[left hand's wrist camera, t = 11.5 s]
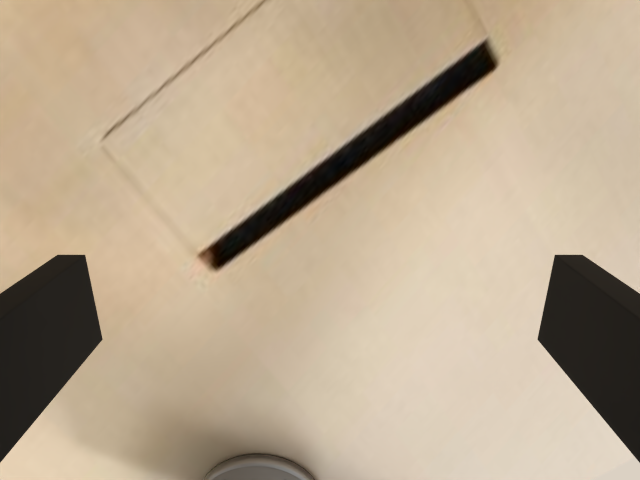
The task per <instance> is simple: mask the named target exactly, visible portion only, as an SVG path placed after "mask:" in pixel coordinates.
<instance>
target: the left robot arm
mask: <svg viewBox="0 0 640 480" xmlns="http://www.w3.org/2000/svg"><path fill="white" fill-rule="evenodd" d="M101 341H102V335H101V330H100V325H99V321H98V316H97V311H96V306H95V301H94V296H93V291H92V287H91V282H90V277H89V272H88V267H87V262H86V257H85V255H57V256H55V257H54V258H52V259H51V260H49V261H48V262H46V263H45V264H43V265H42V266H41V267H39V268H38V269H36V270H35V271H33V272H32V273H30V274H29V275H27V276H26V277H24V278H23V279H21V280H20V281H18V282H17V283H15V284H14V285H12V286H11V287H10V288H8V289H7V290H5V291H4V292H2V293H1V294H0V462H1V461H2V460H3V459H4V457H5V456H6V455H7V454H8V453H9V451H10V450H11V449H12V448H13V447H14V445H15V444H16V443H17V442H18V441H19V439H20V438H21V437H22V436H23V434H24V433H25V432H26V431H27V430H28V428H29V427H30V426H31V425H32V424H33V422H34V421H35V420H36V419H37V418H38V416H39V415H40V414H41V413H42V412H43V410H44V409H45V408H46V407H47V406H48V404H49V403H50V402H51V401H52V400H53V398H54V397H55V396H56V395H57V394H58V392H59V391H60V390H61V389H62V388H63V386H64V385H65V384H66V383H67V381H68V380H69V379H70V378H71V377H72V375H73V374H74V373H75V372H76V371H77V369H78V368H79V367H80V366H81V365H82V363H83V362H84V361H85V360H86V359H87V357H88V356H89V355H90V354H91V353H92V351H93V350H94V349H95V348H96V347H97V345H98V344H99V343H100V342H101ZM538 341H539V342H540V343H541V344H542V345H543V347H544V348H545V349H546V350H547V351H548V353H549V354H550V355H551V356H552V357H553V359H554V360H555V361H556V362H557V363H558V365H559V366H560V367H561V368H562V369H563V371H564V372H565V373H566V374H567V375H568V377H569V378H570V379H571V380H572V381H573V383H574V384H575V385H576V386H577V388H578V389H579V390H580V391H581V392H582V394H583V395H584V396H585V397H586V398H587V400H588V401H589V402H590V403H591V404H592V406H593V407H594V408H595V409H596V410H597V412H598V413H599V414H600V415H601V416H602V418H603V419H604V420H605V421H606V422H607V424H608V425H609V426H610V427H611V428H612V430H613V431H614V432H615V433H616V434H617V436H618V437H619V438H620V439H621V441H622V442H623V443H624V444H625V445H626V447H627V448H628V449H629V450H630V451H631V453H632V454H633V455H634V456H635V457H636V459H637V460H638V461H639V462H640V294H639V293H638V292H636V291H635V290H633V289H632V288H630V287H629V286H628V285H626V284H625V283H623V282H622V281H620V280H619V279H617V278H616V277H614V276H613V275H611V274H610V273H608V272H607V271H605V270H604V269H602V268H601V267H599V266H598V265H597V264H595V263H594V262H592V261H591V260H589V259H588V258H586V257H585V256H583V255H555V257H554V262H553V267H552V272H551V277H550V282H549V287H548V291H547V296H546V301H545V306H544V311H543V316H542V321H541V325H540V330H539V335H538ZM204 480H314V479H313V477H312V476H311V475H310V474H309V473H308V472H307V471H306V470H304V469H303V468H302V467H300V466H299V465H297V464H295V463H293V462H291V461H289V460H286V459H283V458H280V457H276V456H271V455H261V454H253V455H244V456H239V457H235V458H232V459H229V460H227V461H225V462H222V463H221V464H219V465H217V466H216V467H215V468H213V469H212V470H211V471H210V472H209V473H208V474H207V475H206V477H205V478H204Z"/></svg>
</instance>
